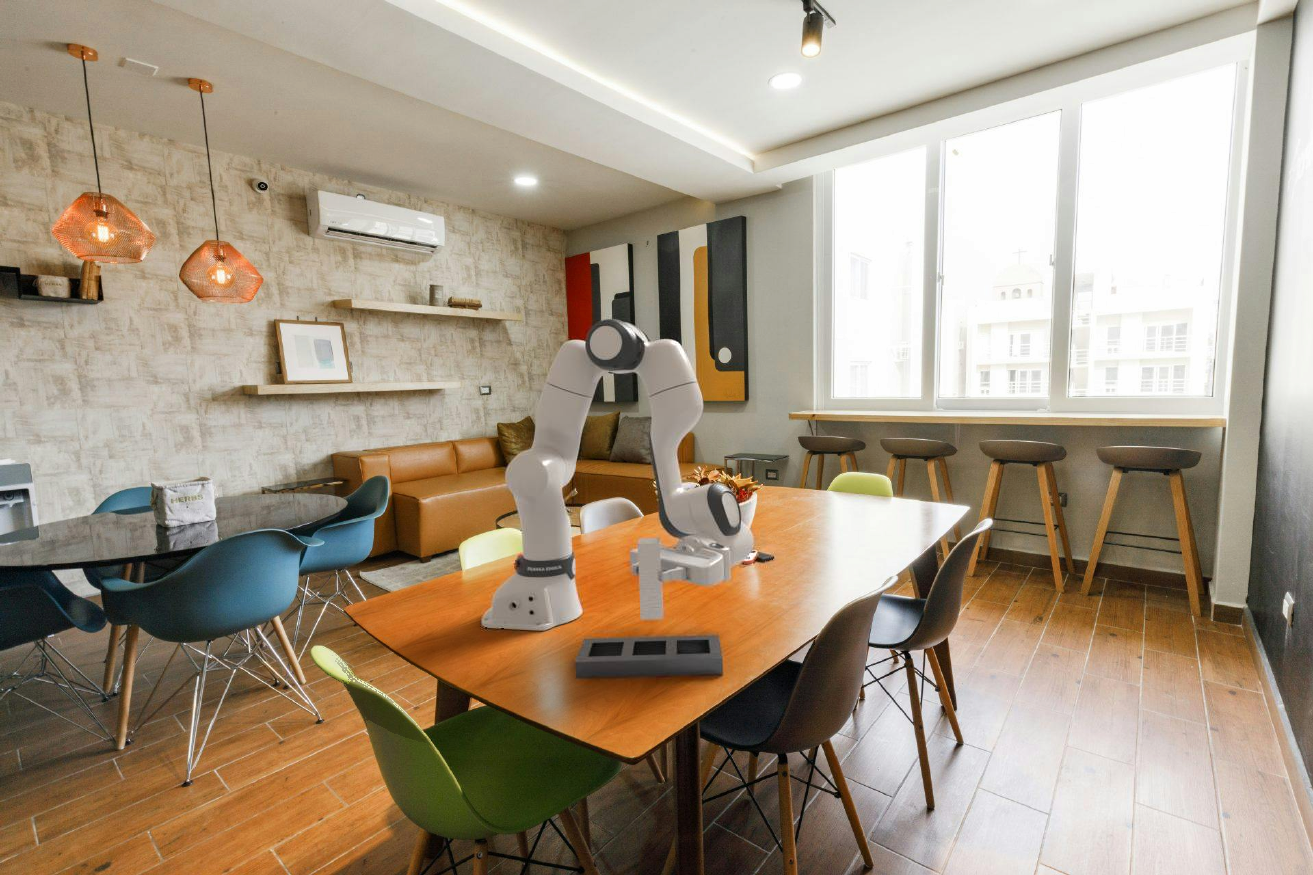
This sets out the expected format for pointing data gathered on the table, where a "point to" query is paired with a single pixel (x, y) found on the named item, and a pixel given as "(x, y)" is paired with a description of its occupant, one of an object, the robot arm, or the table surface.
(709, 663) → the dark grey flat frame
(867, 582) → the table surface
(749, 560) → the multimeter
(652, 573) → the post
